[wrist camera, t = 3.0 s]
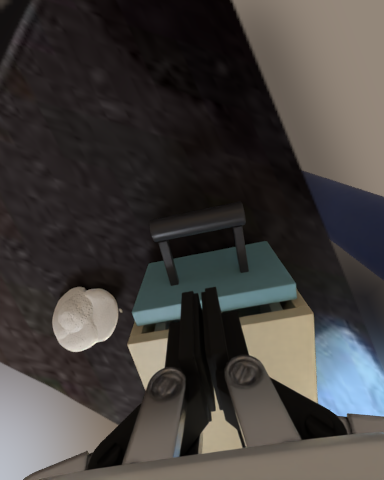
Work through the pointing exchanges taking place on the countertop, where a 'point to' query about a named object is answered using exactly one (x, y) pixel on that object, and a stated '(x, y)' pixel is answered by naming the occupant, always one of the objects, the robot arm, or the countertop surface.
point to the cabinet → (259, 346)
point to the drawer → (211, 270)
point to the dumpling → (84, 318)
